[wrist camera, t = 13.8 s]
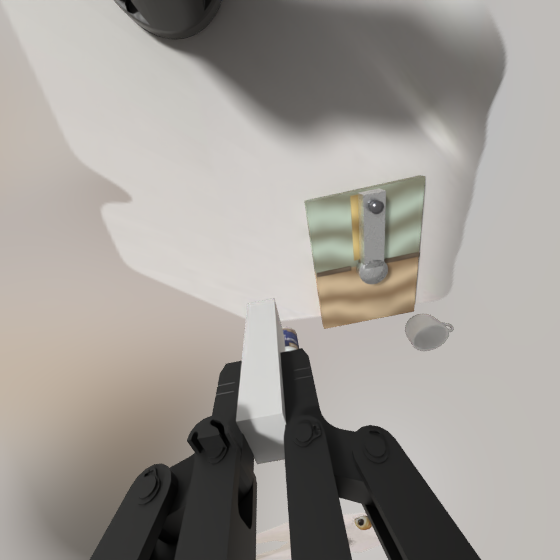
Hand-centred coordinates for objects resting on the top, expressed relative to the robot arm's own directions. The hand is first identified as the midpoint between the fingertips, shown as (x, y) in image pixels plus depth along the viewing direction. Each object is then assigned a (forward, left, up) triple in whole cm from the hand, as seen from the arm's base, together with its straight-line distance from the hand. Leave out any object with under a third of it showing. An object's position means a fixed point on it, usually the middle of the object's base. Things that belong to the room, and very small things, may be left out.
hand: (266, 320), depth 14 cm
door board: (+15, +17, -32) cm, 40 cm away
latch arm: (+9, +17, -30) cm, 36 cm away
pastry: (+148, +12, -33) cm, 152 cm away
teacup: (+34, +30, -33) cm, 56 cm away
